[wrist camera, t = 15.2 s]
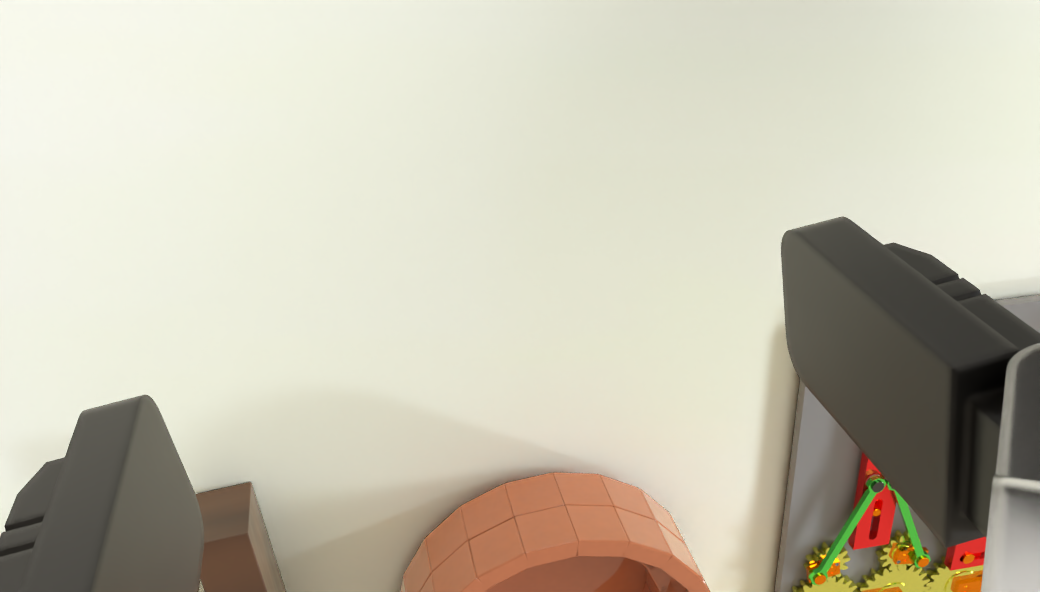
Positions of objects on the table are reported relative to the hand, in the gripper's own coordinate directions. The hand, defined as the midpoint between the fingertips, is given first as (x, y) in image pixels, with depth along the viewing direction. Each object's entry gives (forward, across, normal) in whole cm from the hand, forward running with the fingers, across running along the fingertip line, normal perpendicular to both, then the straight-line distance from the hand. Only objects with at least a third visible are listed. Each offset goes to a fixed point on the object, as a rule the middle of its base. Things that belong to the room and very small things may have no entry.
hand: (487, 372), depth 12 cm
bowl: (+23, -1, +26) cm, 35 cm away
